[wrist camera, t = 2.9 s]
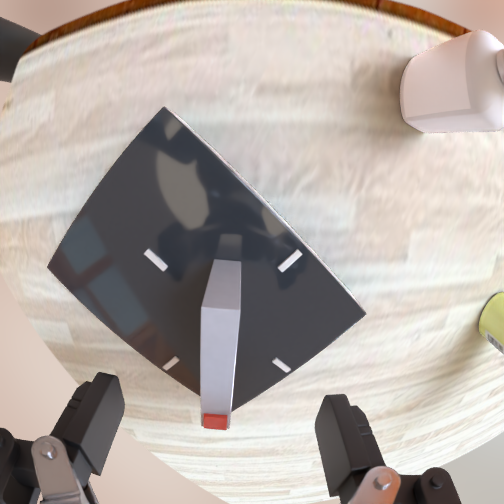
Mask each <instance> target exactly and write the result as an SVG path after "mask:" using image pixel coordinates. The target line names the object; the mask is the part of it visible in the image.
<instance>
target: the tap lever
mask: <svg viewBox="0 0 504 504" xmlns="http://www.w3.org/2000/svg"><path fill="white" fill-rule="evenodd" d="M240 313H241V262H240V261H229V260H218V259H214V261H213V265H212V268H211V272H210V276H209V279H208V283H207V287H206V290H205V294H204V298H203V302H202V305H201V326H200V397H201V426H204V428H208V429H219V430H227V429H229V428H230V419H231V408H232V397H233V386H234V375H235V365H236V354H237V344H238V333H239V323H240Z"/></svg>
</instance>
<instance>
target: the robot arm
mask: <svg viewBox="0 0 504 504" xmlns="http://www.w3.org/2000/svg"><path fill="white" fill-rule="evenodd" d="M124 408H125V403H124V398H123V394H122V390H121V387H120V383H119V379H118V377H117V376H115V375H111V374H107V373H103V372H98V373H97V374H96V376H95V378H94V379H93V381H92V383H91V382H88V381H86V382H85V383H83V384H82V385H81V386H79V387H78V388H77V389H76V391H75V392H74V394H73V396H72V399H71V400H70V401H69V403H68V404H67V407H66V408H65V409H64V411H63V413H62V415H61V417H60V418H59V420H58V422H57V423H56V425H55V427H54V429H53V431H52V432H51V434H50V435H49V436H43V437H40V438H38V439H37V440H35V441H26V440H20V439H15V438H14V437H13V436H12V434H11V433H10V432H9V431H8V430H6V429H4V428H0V504H37V500H38V498H39V495H40V492H42V496H43V500H42V501H40V504H99V502H98V500H97V498H96V495H95V493H94V491H93V489H92V487H91V484H90V482H89V477H90V475H91V473H93V474H96V475H99V476H100V475H101V472H102V470H103V467H104V464H105V461H106V458H107V456H108V453H109V450H110V448H111V445H112V442H113V440H114V437H115V434H116V432H117V429H118V427H119V424H120V422H121V419H122V417H123V414H124ZM315 433H316V437H317V441H318V446H319V450H320V455H321V459H322V463H323V468H324V472H325V477H326V481H327V486H328V491H329V495H330V497H333V496H339V497H340V501H341V502H340V503H339V504H461V501H460V499H459V496H458V494H457V491H456V489H455V486H454V484H453V481H452V479H451V477H450V475H449V473H448V472H447V471H445V470H444V469H442V468H438V467H434V468H430V469H428V470H426V471H425V472H424V473H423V474H422V475H400V474H398V473H397V472H396V471H395V470H394V469H392V468H390V467H387V466H386V465H385V463H384V460H383V458H382V455H381V452H380V450H379V447H378V445H377V442H376V440H375V437H374V435H373V434H372V430H371V427H370V426H369V422H368V420H367V418H366V415H365V414H364V413H363V412H362V410H361V409H360V408H359V407H358V406H350V404H349V401H348V398H347V396H346V395H345V394H336V395H326V396H325V397H324V399H323V402H322V405H321V407H320V410H319V412H318V415H317V417H316V421H315Z"/></svg>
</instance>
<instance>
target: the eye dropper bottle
mask: <svg viewBox="0 0 504 504" xmlns="http://www.w3.org/2000/svg"><path fill="white" fill-rule="evenodd" d="M400 106H401V113H402V117H403V119H404V121H405V122H406V123H407V124H409V125H410V126H412V127H414V128H416V129H418V130H420V131H422V132H424V133H447V132H495V131H500V130H501V129H503V128H504V46H503V44H502V43H501V42H500V41H499V40H497V39H496V38H495V37H494V36H493V35H492V34H490V33H489V32H487V31H484V30H476V31H472V32H469V33H466V34H464V35H461V36H459V37H456V38H454V39H451V40H449V41H446V42H444V43H442V44H440V45H437V46H435V47H433V48H431V49H429V50H426V51H424V52H422V53H420V54H418V55H416V56H414V57H413V58H412V59H411V60H410V62H409V63H408V65H407V66H406V68H405V70H404V73H403V76H402V79H401V85H400Z"/></svg>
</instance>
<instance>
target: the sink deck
mask: <svg viewBox="0 0 504 504" xmlns="http://www.w3.org/2000/svg"><path fill="white" fill-rule="evenodd" d="M214 259H218V260H229V261H240V262H241V313H240V323H239V333H238V344H237V354H236V365H235V375H234V386H233V397H232V408H231V412H232V411H234V410H236V409H237V408H239V407H240V406H242V405H244V404H245V403H247V402H249V401H250V400H252V399H253V398H255V397H256V396H258V395H260V394H261V393H263V392H264V391H266V390H267V389H269V388H270V387H272V386H273V385H275V384H276V383H278V382H279V381H281V380H282V379H284V378H285V377H286V376H288V375H289V374H291V373H292V372H294V371H295V370H296V369H298V368H299V367H301V366H302V365H303V364H305V363H306V362H307V361H309V360H310V359H311V358H313V357H314V356H315V355H317V354H318V353H319V352H321V351H322V350H323V349H325V348H326V347H327V346H328V345H330V344H331V343H332V342H334V341H335V340H336V339H337V338H339V337H340V336H341V335H342V334H343V333H345V332H346V331H347V330H348V329H350V328H351V327H352V326H353V325H354V324H356V323H357V322H358V321H359V320H360V319H361V318H363V317H364V316H365V315H366V312H365V311H364V309H363V308H362V307H361V305H360V304H359V302H358V301H357V300H356V298H355V297H354V296H353V294H352V293H351V292H350V291H349V289H348V288H347V287H346V286H345V285H344V284H343V283H342V282H341V280H340V279H339V278H338V277H337V276H336V275H335V274H334V273H333V272H332V270H331V269H330V268H329V267H328V266H327V265H326V264H325V263H324V262H323V260H322V259H321V258H320V257H319V256H318V255H317V254H316V253H315V252H314V251H313V250H312V249H311V247H310V246H309V245H308V244H307V243H306V242H305V241H304V240H303V239H302V238H301V237H300V236H299V235H298V234H297V232H296V231H295V230H294V229H293V228H292V227H291V226H290V225H289V224H288V223H287V222H286V221H285V220H284V219H283V218H282V217H281V216H280V215H279V214H278V212H277V211H276V210H275V209H274V208H273V207H272V206H271V205H270V204H269V203H268V202H267V201H266V200H265V199H264V198H263V197H262V196H261V195H260V194H259V193H258V192H257V191H256V190H255V189H254V188H253V187H252V186H251V185H250V184H249V183H248V182H247V181H246V180H245V179H244V178H243V177H242V176H241V175H240V174H239V173H238V172H237V171H236V170H235V169H234V168H233V167H232V166H231V165H230V164H229V163H228V162H227V161H226V160H225V159H224V158H223V157H222V156H221V155H220V154H219V153H218V152H217V151H216V150H215V149H214V148H212V147H211V146H210V145H209V144H208V143H207V142H206V141H205V140H204V139H203V138H202V137H201V136H200V135H199V134H198V133H197V132H196V131H195V130H194V129H192V128H191V127H190V126H189V125H188V124H187V123H186V122H185V121H184V120H183V119H182V118H181V117H180V116H178V115H177V114H176V113H174V112H172V111H171V110H169V109H168V108H166V107H163V108H162V109H161V110H160V111H159V112H158V113H157V114H156V115H155V116H154V117H153V118H152V119H151V121H150V122H149V123H148V124H147V125H146V126H145V127H144V128H143V129H142V131H141V132H140V133H139V134H138V135H137V136H136V138H135V139H134V140H133V141H132V142H131V143H130V145H129V146H128V147H127V148H126V149H125V151H124V152H123V153H122V154H121V156H120V157H119V158H118V159H117V161H116V162H115V163H114V164H113V166H112V167H111V168H110V170H109V171H108V172H107V174H106V175H105V176H104V178H103V179H102V180H101V182H100V183H99V184H98V186H97V187H96V189H95V190H94V191H93V193H92V194H91V196H90V197H89V199H88V200H87V202H86V203H85V205H84V206H83V208H82V209H81V211H80V212H79V214H78V215H77V217H76V218H75V220H74V221H73V223H72V225H71V226H70V228H69V229H68V231H67V233H66V234H65V236H64V238H63V239H62V241H61V243H60V245H59V246H58V248H57V250H56V252H55V253H54V255H53V257H52V259H51V261H50V262H49V264H48V266H47V268H48V269H49V270H50V271H51V272H52V273H53V274H54V275H55V277H56V278H57V279H58V280H59V281H60V282H61V283H62V284H63V285H64V286H65V287H66V288H67V289H68V290H69V291H70V292H71V293H72V294H73V295H74V296H75V297H76V298H77V299H78V300H79V301H80V302H81V303H82V304H83V305H84V306H85V307H86V308H87V309H89V310H90V311H91V312H92V313H93V314H94V315H95V316H96V317H97V318H98V319H99V320H101V321H102V322H103V323H104V324H105V325H106V326H107V327H108V328H110V329H111V330H112V331H113V332H114V333H115V334H117V335H118V336H119V337H120V338H121V339H123V340H124V341H125V342H126V343H127V344H129V345H130V346H131V347H132V348H134V349H135V350H136V351H137V352H139V353H140V354H141V355H142V356H144V357H145V358H146V359H148V360H149V361H150V362H152V363H153V364H154V365H156V366H157V367H158V368H160V369H161V370H162V371H164V372H165V373H167V374H168V375H169V376H171V377H172V378H174V379H175V380H177V381H178V382H179V383H181V384H182V385H184V386H185V387H187V388H188V389H190V390H191V391H193V392H194V393H196V394H197V395H199V396H200V326H201V305H202V302H203V298H204V294H205V290H206V287H207V283H208V279H209V276H210V272H211V268H212V265H213V261H214Z"/></svg>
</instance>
